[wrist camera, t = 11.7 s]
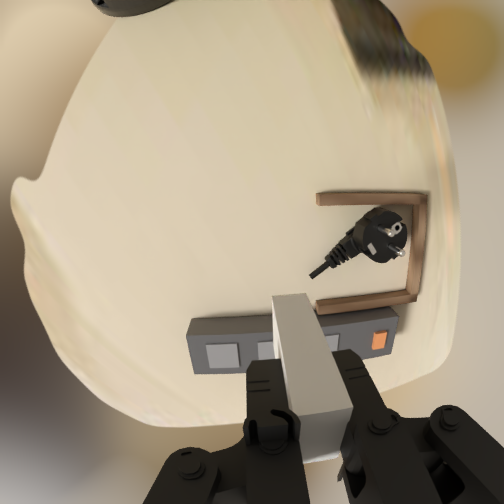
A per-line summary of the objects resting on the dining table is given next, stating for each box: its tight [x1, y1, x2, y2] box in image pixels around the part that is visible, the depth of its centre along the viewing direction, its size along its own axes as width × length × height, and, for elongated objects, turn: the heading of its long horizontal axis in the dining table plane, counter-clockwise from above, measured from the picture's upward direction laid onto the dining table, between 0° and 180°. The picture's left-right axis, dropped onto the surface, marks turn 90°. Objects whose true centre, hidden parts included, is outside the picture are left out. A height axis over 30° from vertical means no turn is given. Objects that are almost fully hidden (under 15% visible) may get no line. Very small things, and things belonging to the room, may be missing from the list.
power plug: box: [309, 208, 407, 279], centre depth 29 cm, size 6×8×12 cm
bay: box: [315, 193, 427, 315], centre depth 32 cm, size 14×14×2 cm
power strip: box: [186, 306, 399, 374], centre depth 34 cm, size 6×26×4 cm, turn 93°
